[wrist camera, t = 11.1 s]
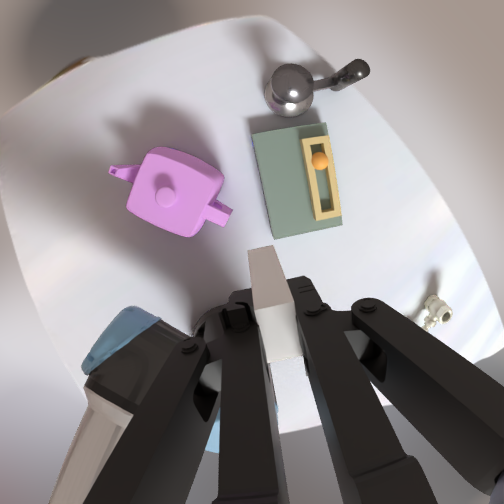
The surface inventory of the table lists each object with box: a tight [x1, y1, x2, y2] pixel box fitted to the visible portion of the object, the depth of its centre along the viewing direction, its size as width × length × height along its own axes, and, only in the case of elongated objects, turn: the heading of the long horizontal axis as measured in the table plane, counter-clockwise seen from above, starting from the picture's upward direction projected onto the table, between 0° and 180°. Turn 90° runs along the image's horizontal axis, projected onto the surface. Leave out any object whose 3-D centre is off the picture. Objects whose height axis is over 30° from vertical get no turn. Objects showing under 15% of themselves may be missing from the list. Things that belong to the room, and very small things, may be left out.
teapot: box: [108, 147, 233, 237], centre depth 38 cm, size 18×10×10 cm, turn 63°
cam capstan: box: [265, 59, 370, 117], centre depth 33 cm, size 13×7×11 cm, turn 110°
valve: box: [421, 295, 453, 332], centre depth 51 cm, size 7×7×12 cm
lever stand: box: [251, 122, 343, 240], centre depth 41 cm, size 16×11×5 cm
